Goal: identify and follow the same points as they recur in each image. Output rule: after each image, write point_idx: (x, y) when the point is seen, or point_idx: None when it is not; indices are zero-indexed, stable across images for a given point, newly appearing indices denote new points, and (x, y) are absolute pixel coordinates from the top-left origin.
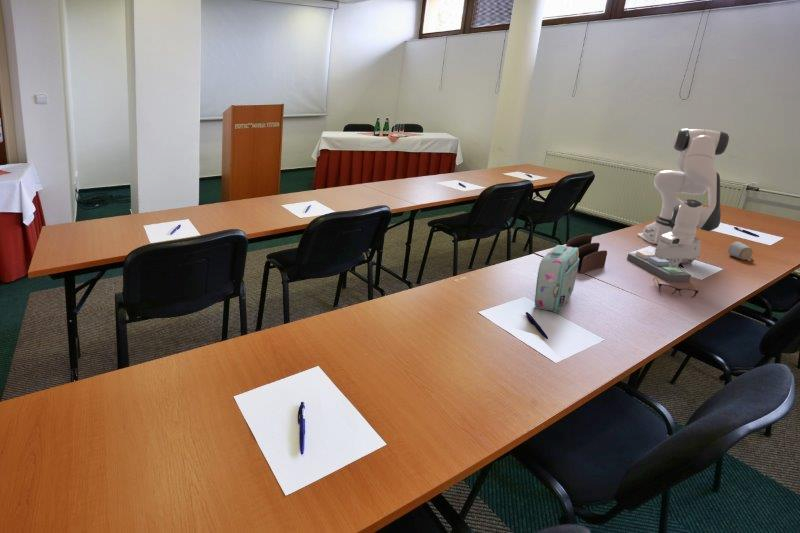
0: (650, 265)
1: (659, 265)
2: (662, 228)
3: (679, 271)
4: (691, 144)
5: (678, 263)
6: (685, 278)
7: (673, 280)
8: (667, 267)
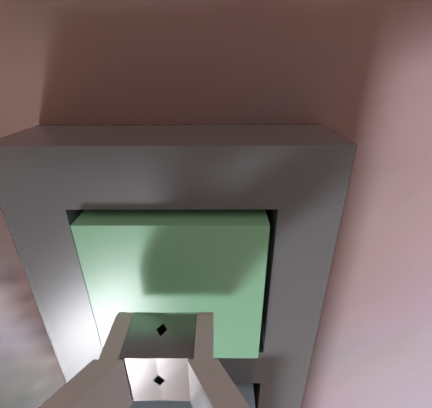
0: (299, 399)
1: None
2: None
3: (123, 241)
4: None
5: (96, 374)
6: (92, 133)
7: (268, 127)
8: None
